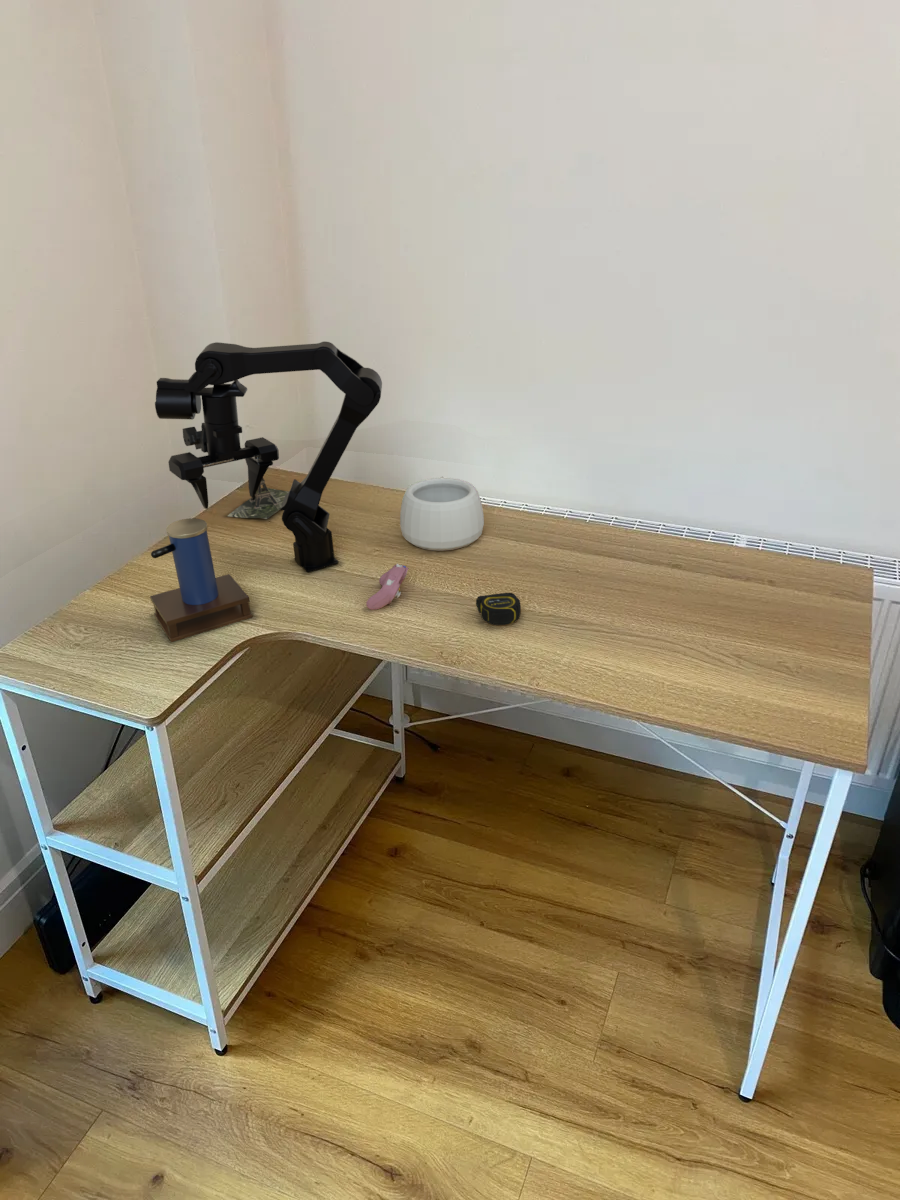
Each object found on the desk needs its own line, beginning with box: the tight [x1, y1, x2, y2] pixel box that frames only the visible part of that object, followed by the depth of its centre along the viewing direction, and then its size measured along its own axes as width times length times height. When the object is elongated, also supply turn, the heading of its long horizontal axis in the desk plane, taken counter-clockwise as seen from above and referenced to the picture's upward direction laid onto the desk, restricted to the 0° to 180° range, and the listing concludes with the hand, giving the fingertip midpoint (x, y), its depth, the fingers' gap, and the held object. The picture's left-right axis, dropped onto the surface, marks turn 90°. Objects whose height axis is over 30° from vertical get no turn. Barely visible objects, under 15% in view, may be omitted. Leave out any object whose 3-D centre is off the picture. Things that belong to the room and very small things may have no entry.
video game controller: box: [365, 563, 409, 611], centre depth 150 cm, size 10×5×7 cm, turn 168°
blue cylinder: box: [150, 517, 218, 605], centre depth 141 cm, size 10×6×13 cm, turn 139°
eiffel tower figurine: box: [227, 477, 290, 520], centre depth 184 cm, size 15×10×13 cm
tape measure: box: [475, 592, 522, 626], centre depth 143 cm, size 7×7×4 cm
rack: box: [149, 573, 253, 643], centre depth 146 cm, size 14×10×4 cm
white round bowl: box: [399, 476, 485, 552], centre depth 172 cm, size 21×17×10 cm
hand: (229, 502), depth 157 cm, fingers open, 9 cm apart
